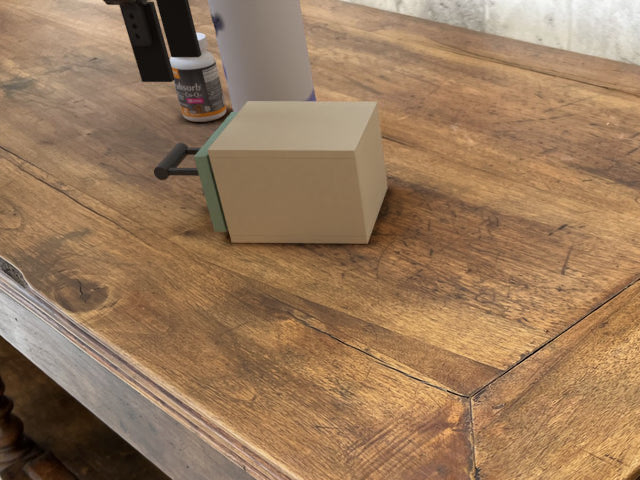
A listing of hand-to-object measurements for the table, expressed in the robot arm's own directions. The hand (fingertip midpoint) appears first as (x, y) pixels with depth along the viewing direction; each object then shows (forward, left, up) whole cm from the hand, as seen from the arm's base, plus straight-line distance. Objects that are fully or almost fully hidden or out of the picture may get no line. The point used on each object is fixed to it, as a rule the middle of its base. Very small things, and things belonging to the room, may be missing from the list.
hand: (172, 67), depth 74 cm
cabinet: (+11, 0, -15) cm, 18 cm away
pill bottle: (-10, +28, -15) cm, 33 cm away
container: (+2, +21, -15) cm, 26 cm away
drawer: (+6, 0, -14) cm, 15 cm away
